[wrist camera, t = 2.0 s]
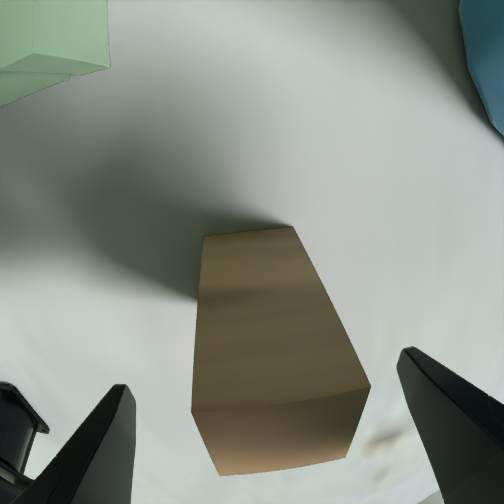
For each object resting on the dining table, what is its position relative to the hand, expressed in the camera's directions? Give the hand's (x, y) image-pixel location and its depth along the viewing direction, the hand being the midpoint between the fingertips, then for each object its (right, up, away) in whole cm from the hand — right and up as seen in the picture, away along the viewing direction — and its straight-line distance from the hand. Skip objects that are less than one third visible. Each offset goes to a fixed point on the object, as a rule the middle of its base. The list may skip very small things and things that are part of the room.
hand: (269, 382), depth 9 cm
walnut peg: (-1, +3, +6) cm, 7 cm away
